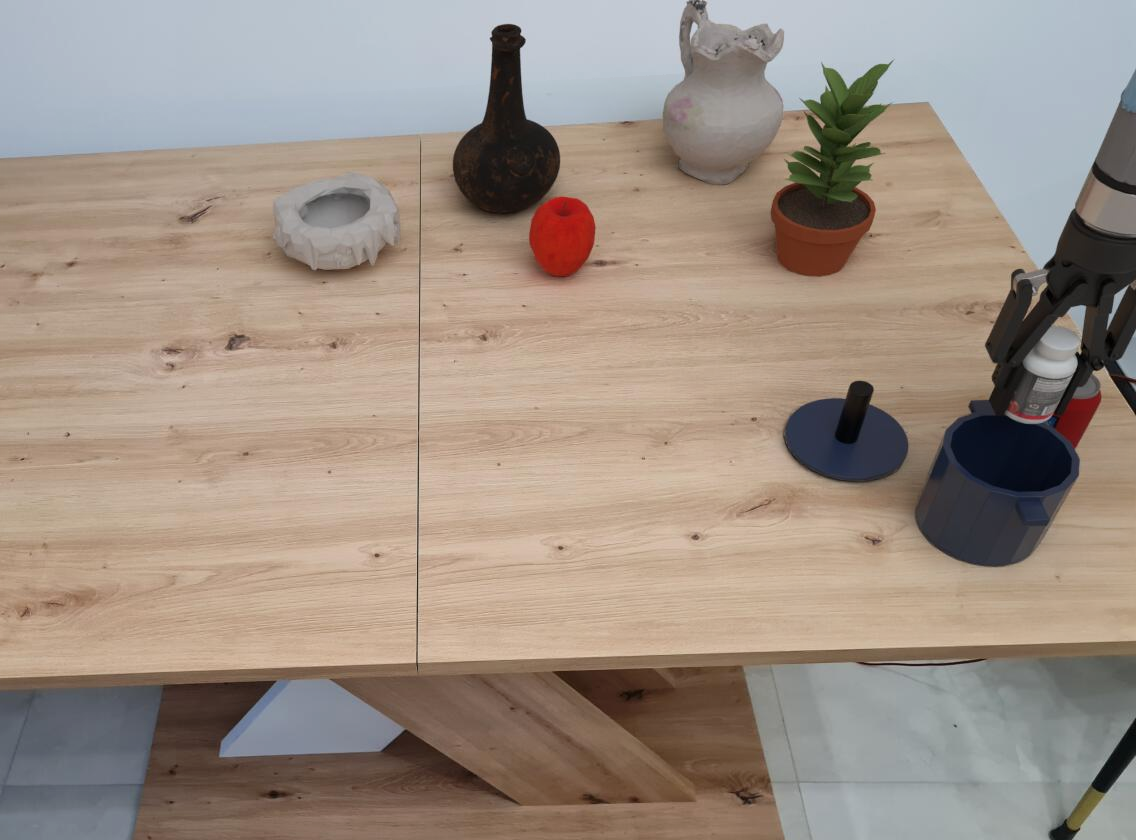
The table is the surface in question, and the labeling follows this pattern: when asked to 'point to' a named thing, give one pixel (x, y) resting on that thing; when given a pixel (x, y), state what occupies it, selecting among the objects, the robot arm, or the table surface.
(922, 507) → the pot
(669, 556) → the table surface
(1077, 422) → the beverage can
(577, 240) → the apple
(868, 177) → the potted plant
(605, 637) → the table surface
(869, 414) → the lid
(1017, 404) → the pill bottle
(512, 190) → the glass bottle
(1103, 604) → the table surface
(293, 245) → the bowl
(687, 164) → the ceramic pitcher
